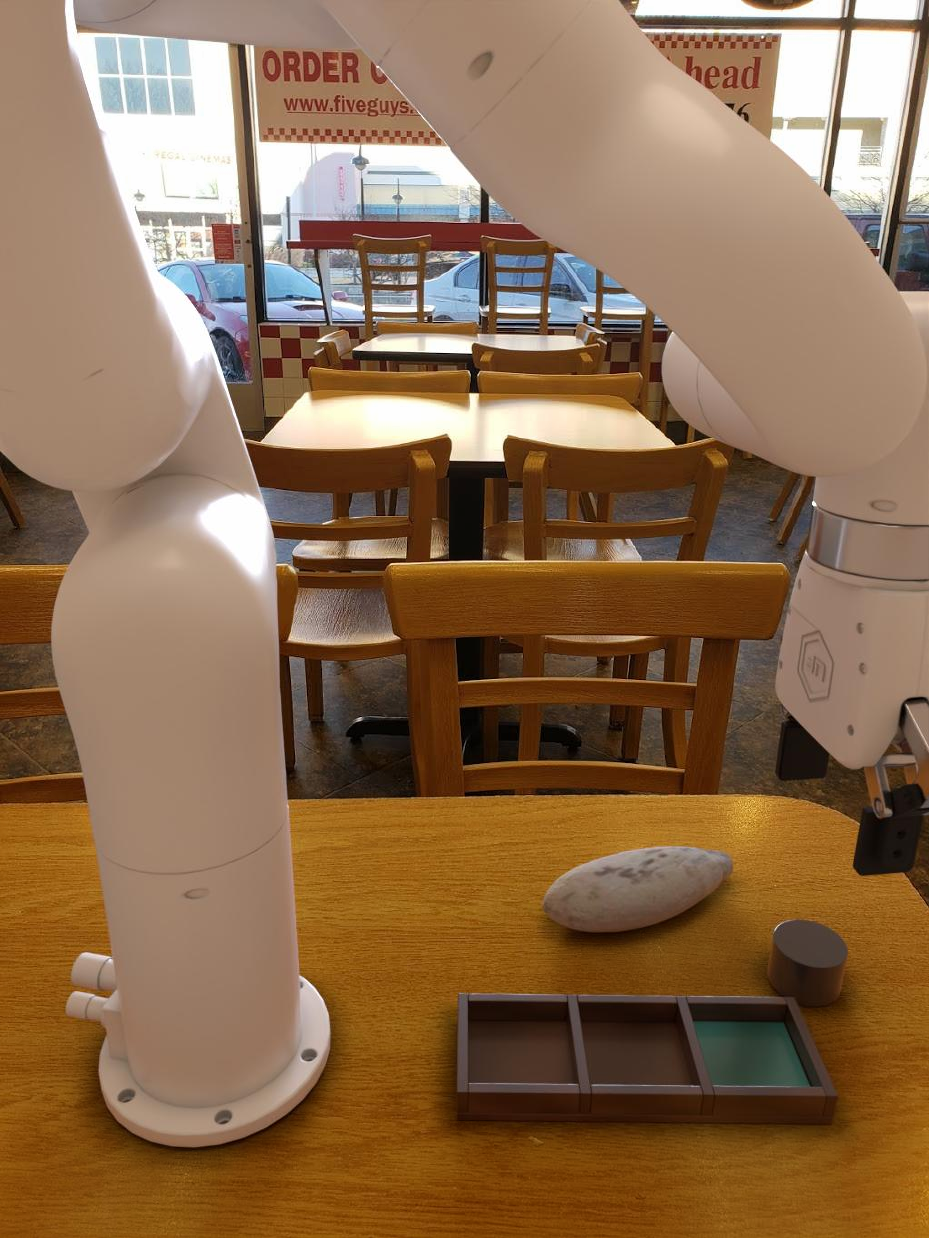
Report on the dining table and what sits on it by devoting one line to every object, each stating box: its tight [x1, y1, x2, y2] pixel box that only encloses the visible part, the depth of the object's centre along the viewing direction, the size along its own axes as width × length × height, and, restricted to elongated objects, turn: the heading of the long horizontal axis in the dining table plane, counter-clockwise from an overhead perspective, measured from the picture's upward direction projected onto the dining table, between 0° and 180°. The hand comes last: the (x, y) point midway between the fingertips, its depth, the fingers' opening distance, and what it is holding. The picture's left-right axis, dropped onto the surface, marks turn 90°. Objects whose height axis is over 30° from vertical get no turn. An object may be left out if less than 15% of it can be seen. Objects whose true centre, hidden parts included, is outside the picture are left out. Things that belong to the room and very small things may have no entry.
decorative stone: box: [541, 845, 734, 933], centre depth 65 cm, size 6×16×3 cm, turn 117°
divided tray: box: [455, 992, 839, 1125], centre depth 52 cm, size 20×7×2 cm, turn 90°
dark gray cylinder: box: [766, 919, 849, 1008], centre depth 59 cm, size 4×4×3 cm
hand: (837, 820), depth 55 cm, fingers open, 9 cm apart
